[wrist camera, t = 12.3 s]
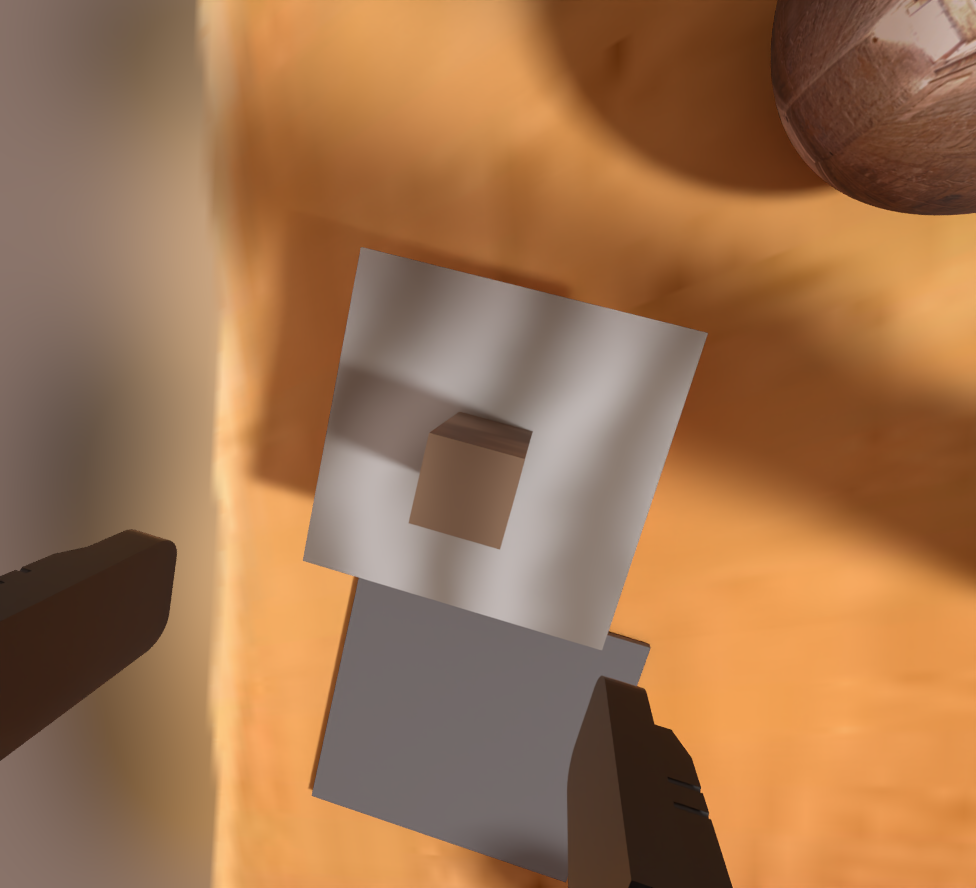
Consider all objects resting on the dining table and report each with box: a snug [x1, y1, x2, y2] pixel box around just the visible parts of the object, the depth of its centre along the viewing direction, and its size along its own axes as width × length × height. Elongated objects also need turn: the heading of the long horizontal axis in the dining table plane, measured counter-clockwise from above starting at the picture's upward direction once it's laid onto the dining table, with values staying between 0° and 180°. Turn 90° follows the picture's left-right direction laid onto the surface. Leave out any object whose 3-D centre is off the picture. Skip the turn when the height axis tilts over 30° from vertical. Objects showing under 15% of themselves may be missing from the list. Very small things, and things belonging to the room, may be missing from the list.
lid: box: [303, 247, 708, 650], centre depth 23 cm, size 16×16×7 cm
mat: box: [312, 578, 650, 882], centre depth 36 cm, size 19×19×1 cm
